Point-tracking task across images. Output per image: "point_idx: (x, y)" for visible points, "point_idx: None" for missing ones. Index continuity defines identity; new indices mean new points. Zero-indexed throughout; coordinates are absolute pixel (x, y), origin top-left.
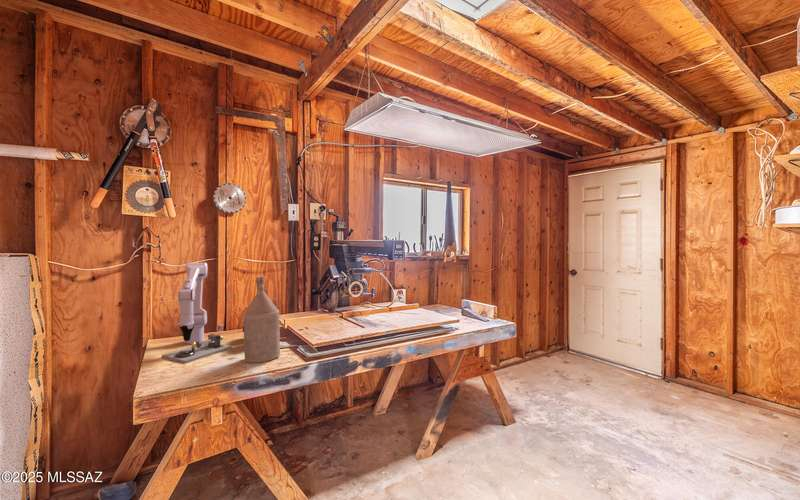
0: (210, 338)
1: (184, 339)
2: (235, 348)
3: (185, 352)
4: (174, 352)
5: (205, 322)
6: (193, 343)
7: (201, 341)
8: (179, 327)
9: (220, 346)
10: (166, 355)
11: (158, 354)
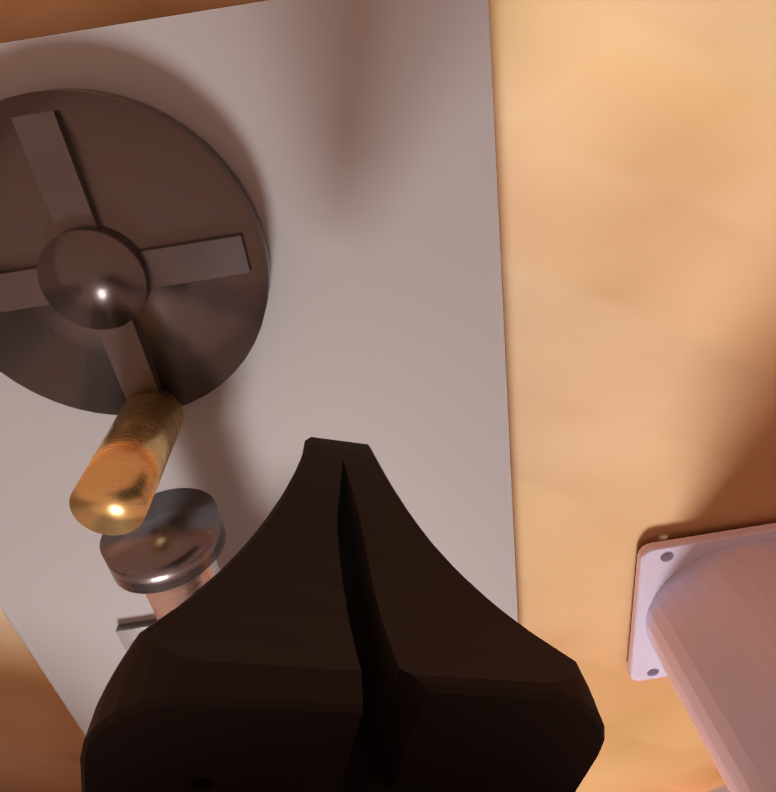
0: None
1: (307, 453)
2: (67, 731)
3: (40, 266)
4: (435, 208)
5: None
6: (74, 488)
7: (647, 630)
8: (530, 682)
9: None
10: (367, 17)
11: (724, 25)
